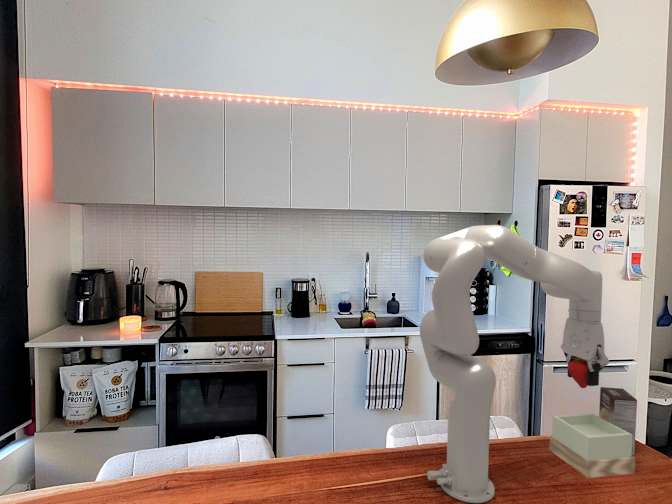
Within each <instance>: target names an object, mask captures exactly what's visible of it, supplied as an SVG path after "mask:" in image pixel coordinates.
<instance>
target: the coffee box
mask: <svg viewBox="0 0 672 504" xmlns="http://www.w3.org/2000/svg"><path fill="white" fill-rule="evenodd" d="M599 390H600V391H599V412H598V417H600V418H602V419H604V420H606V421H608V422H610V423H611V424H613V425H615V426H617V427H619V428H621V429H623V430H625V431H627V432H628V433H630V434H632V453H631V456H635V452H636V451H635V448H636V447H635V446H636V428H637V410H638V399H637V398H635V397H634V396H633V395H632V394H630V393H629V392H628V391H627V390H625V389H624V388H618V387H605V386H604V387H603V386H601V387H600V389H599Z"/></svg>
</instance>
